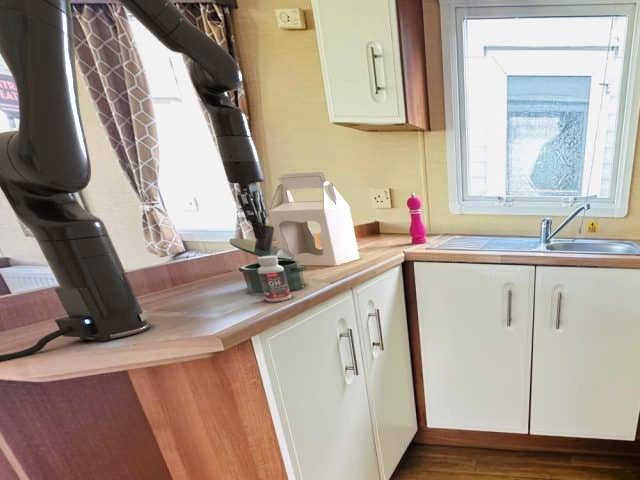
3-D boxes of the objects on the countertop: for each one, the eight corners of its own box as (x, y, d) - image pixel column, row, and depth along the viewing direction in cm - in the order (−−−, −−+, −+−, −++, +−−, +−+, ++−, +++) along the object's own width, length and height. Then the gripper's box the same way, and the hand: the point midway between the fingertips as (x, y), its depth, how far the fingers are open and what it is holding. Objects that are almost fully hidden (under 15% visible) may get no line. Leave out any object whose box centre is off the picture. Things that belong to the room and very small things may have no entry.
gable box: (282, 265, 145) (257, 174, 133) (309, 258, 156) (288, 174, 144) (336, 266, 139) (316, 171, 127) (360, 259, 150) (343, 171, 138)
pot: (290, 295, 102) (283, 269, 100) (228, 294, 107) (219, 269, 104) (324, 283, 114) (318, 259, 111) (267, 282, 118) (260, 259, 115)
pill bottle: (275, 303, 96) (262, 259, 92) (261, 301, 99) (248, 258, 94) (296, 297, 100) (285, 255, 96) (282, 295, 103) (270, 254, 99)
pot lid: (268, 263, 99) (273, 233, 97) (214, 242, 100) (217, 211, 97) (305, 262, 113) (310, 235, 110) (257, 243, 113) (260, 216, 111)
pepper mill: (430, 242, 184) (424, 192, 175) (414, 244, 180) (407, 193, 172) (423, 241, 189) (417, 192, 181) (408, 243, 186) (401, 193, 177)
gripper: (231, 162, 102) (253, 236, 110) (212, 158, 90) (238, 242, 98) (265, 161, 104) (285, 234, 112) (250, 157, 92) (273, 240, 99)
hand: (263, 237), depth 105 cm, fingers closed on pot lid, 3 cm apart
